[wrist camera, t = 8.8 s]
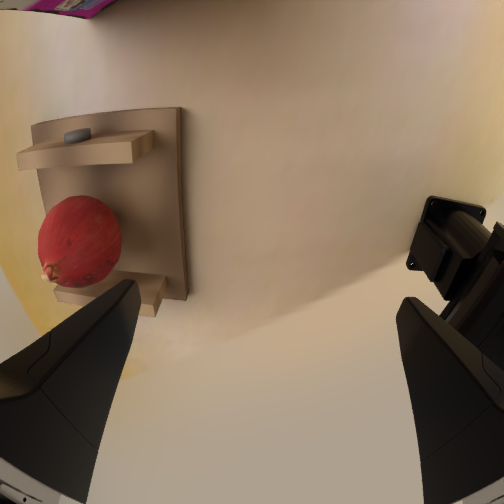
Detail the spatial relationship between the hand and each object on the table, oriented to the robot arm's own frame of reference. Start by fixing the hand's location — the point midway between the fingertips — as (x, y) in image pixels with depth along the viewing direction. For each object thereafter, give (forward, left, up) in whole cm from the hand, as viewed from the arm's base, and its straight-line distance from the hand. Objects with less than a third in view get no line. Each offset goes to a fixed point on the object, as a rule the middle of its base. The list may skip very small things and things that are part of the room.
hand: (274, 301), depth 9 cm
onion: (+12, +3, -11) cm, 17 cm away
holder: (+12, +3, -12) cm, 17 cm away
